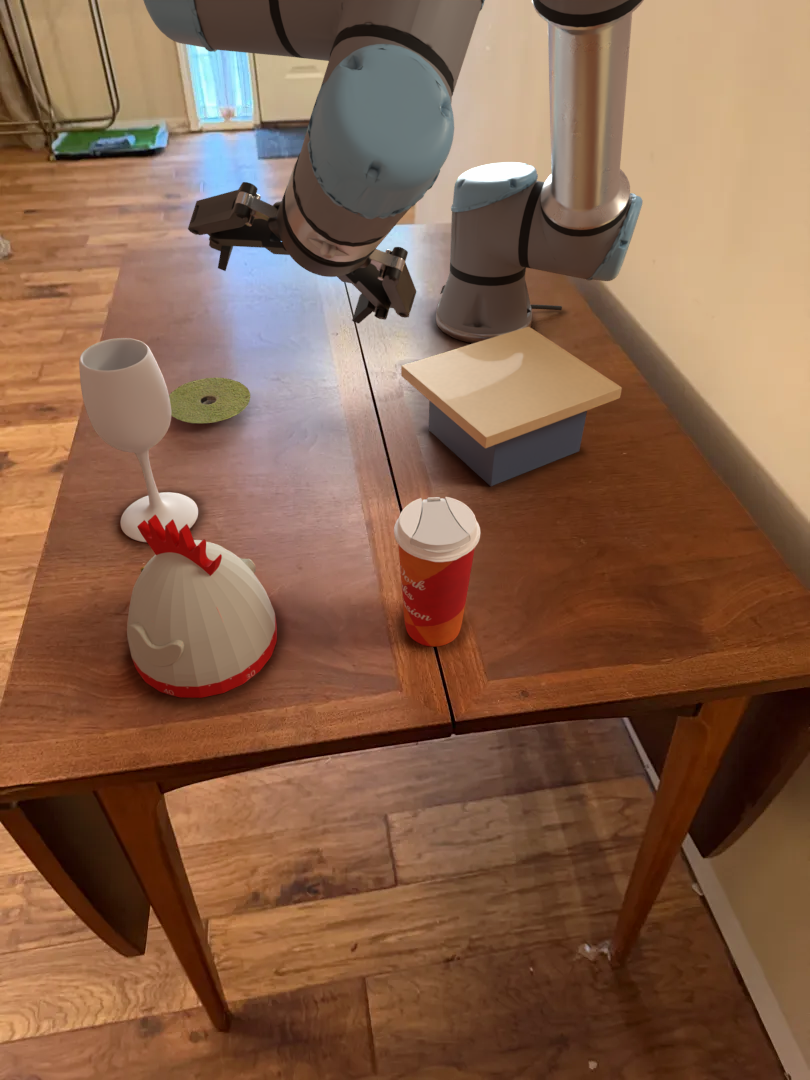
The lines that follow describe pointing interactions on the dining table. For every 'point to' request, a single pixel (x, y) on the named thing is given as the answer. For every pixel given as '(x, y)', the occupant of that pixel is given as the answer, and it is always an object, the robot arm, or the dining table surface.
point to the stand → (509, 402)
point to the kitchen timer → (197, 616)
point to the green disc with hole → (208, 400)
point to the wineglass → (132, 421)
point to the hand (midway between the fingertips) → (294, 283)
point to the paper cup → (435, 566)
